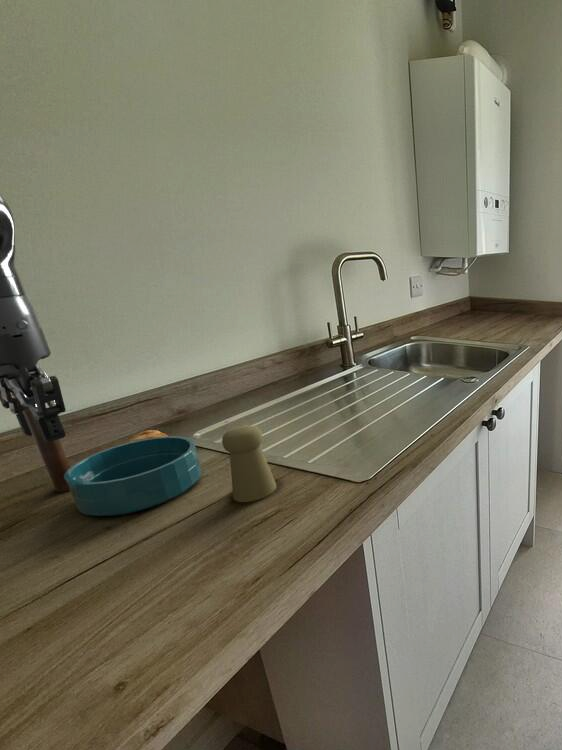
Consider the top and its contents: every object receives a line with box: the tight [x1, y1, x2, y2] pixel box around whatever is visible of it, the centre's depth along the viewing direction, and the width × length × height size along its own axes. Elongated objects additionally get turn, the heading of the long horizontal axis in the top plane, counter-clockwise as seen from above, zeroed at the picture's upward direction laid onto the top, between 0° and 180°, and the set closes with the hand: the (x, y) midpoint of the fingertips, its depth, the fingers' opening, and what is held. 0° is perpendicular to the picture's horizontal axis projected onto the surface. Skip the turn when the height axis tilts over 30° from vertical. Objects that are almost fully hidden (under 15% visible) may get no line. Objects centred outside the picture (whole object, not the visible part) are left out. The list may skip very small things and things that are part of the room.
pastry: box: [128, 429, 169, 443], centre depth 76 cm, size 9×7×4 cm
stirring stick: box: [23, 409, 71, 493], centre depth 65 cm, size 2×2×14 cm
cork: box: [221, 424, 277, 503], centre depth 64 cm, size 6×6×11 cm
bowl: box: [64, 435, 203, 517], centre depth 65 cm, size 15×15×6 cm
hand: (45, 436), depth 64 cm, fingers open, 5 cm apart
